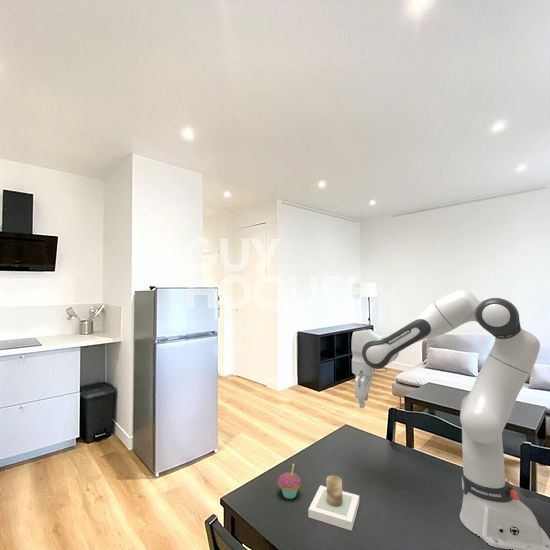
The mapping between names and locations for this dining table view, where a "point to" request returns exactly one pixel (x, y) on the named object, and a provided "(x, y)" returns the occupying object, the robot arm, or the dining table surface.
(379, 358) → the robot arm
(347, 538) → the dining table surface
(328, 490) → the bread loaf
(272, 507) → the dining table surface
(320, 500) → the base slab
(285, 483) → the cupcake
